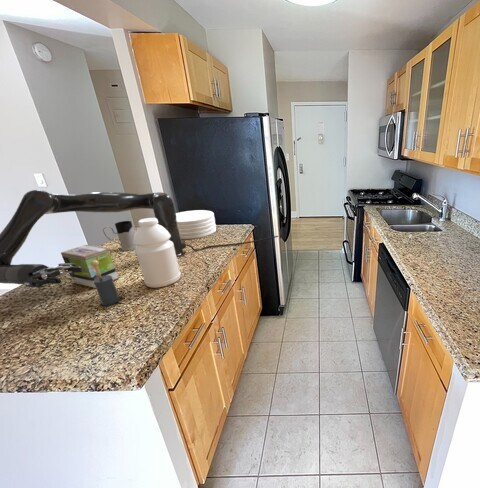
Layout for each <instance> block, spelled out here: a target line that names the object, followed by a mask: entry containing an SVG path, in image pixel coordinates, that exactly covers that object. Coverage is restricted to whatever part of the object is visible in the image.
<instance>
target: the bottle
mask: <svg viewBox="0 0 480 488" xmlns="http://www.w3.org/2000/svg"><path fill="white" fill-rule="evenodd" d="M137 223H138V226H139V227H137V229H136V231H135V235H134V240H133V241H134V243H135V244H137V245H138V246H137V247H136V249H134V252H135V254H136V255H135V256H136V257H137V260H138V264H139V268H140V271H141V274H142V277H143V282H144V284H145V286H146V287H148V288H155V289H156V288H162V287H166V286H170V285H172V284H174V283H176V282H178V281H179V280H180V279H181V276H182V274H181V273H182V272H181V271H180V266H179V261H178V256H176V253H175V248H174V244H173V242H172V241H170V240H169V238H170V237H171V235H170V233H169V232H168V231H167V230H166V229H165V228H164V227H163V226H161V225H159V224H157V223H158V220H157V218H155V217H146V218H140V219H138V221H137Z"/></svg>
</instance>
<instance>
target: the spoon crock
mask: <svg viewBox="0 0 480 488" xmlns="http://www.w3.org/2000/svg"><path fill="white" fill-rule="evenodd" d="M98 264H99V262H98V261H97V260H93V261H92V262H91V265H92V266H94V268H95V270H96V273H97V276H98V278H96V279H95V280H94V281H93V282H94V284H95V287H96V288H95V289H96V292H97V294H98V297H99V300H100V302H101V305H102V306H104V307H105V306H111V305H114V304H116V303H118V302H120V300H121V299H120V295H119V293H118V290H117V287H116V284H115V280H113V278H112V276H110V275H107V276H101V273H100V271H99V268H98Z"/></svg>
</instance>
